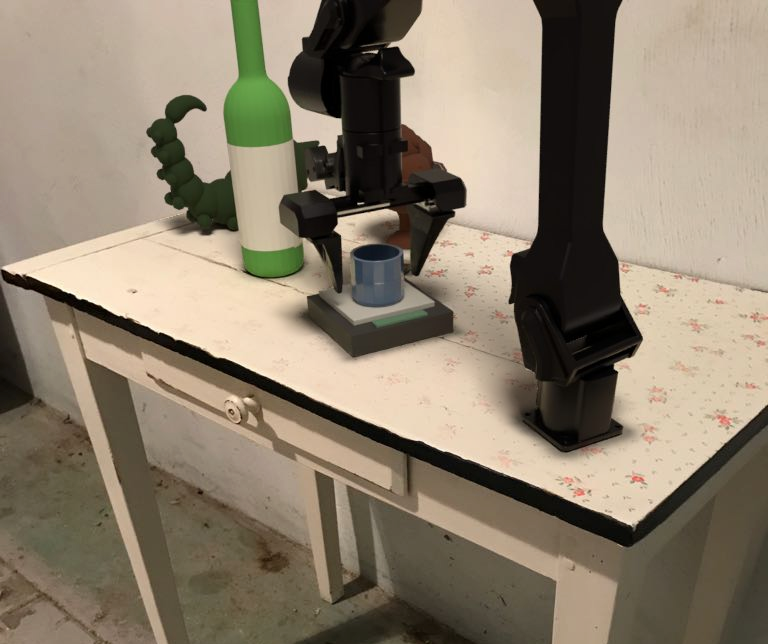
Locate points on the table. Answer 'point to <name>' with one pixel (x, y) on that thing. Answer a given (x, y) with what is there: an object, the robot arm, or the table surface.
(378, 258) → the small cup
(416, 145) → the ice cream bowl
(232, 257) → the table surface
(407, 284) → the kitchen scale
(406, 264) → the red black picture tile
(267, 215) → the wine bottle
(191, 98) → the toy figurine
